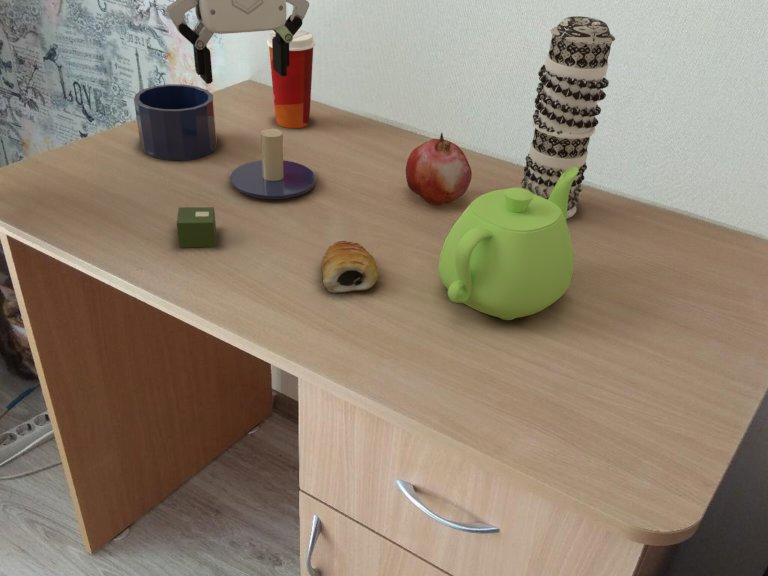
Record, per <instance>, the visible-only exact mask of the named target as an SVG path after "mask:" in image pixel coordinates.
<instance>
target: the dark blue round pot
mask: <svg viewBox="0 0 768 576" xmlns="http://www.w3.org/2000/svg"><path fill="white" fill-rule="evenodd" d="M214 102H215V101H214V95H213V93H211V92H210V91H209V90H208V89H206V88H203V87H200V86H197V85H196V86H195V85H190V84H182V83H180V84H179V83H176V84H174V83H173V84H171V83H167V84H159V85H153V86H150V87H147V88H143V89H141V90H140V91H138V92H136V93H135V95H134V98H133V103H134V111H135V116H136V123H137V130H138V131H137V132H138V137H139V145H140V146H141V150H142V151H143V152H144V154H146V155H147V156H150V157H152V158H155V159H160V160H164V161H175V162H176V161H190V160H196V159H200V158H203V157H206V156H208V155H210V154H211V153H213V152H214V151H216V149H217V146H218V144H217V143H218V141H217V139H218V137H217V127H216V126H217V125H216V116H215V115H216V113H215V103H214Z"/></svg>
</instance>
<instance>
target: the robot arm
mask: <svg viewBox="0 0 768 576" xmlns="http://www.w3.org/2000/svg"><path fill="white" fill-rule="evenodd" d="M287 3H288V4H289V5H291V6H292V7H293V8H292V12H291V14H290V15H289V16H288V17H287ZM309 7H310V2H309V1H308V0H175V1H174V2H172V3H171V4H169V5H168V6H166V8H165V12H166V14H167V15H168V17H169V19H170V20H171V23H172V24H173V25H174V27H175V28H176V31H177V32H178V33H179V34H180V35H181V36H182V37H183V38H185V40H187V41H188V42H189V43H190V44H191V45H192V48H193V59H194V67H195V68H194V70H195V73H196V74H197V76H199V77H200V79H202V80H203V82H204V83H205V84H208V85H209V84H212V83H213V81H214V79H213V69H212V55H211V50H210V48H208V47H207V46H208V43H209V42H210V40H211V39H212V37H213V36H214V34H220V35H221V34H223V35H224V34H225V35H226V34H241V33H253V32H255V33H256V32H266V31H274V32H275V33H276V34H275V37H273V39H272V49H273V69H274V70H275V71H276V72H277V73H278V74H280V75H281V76H287V67H289V65H290V55H289V43H290V42H291V41H292V40H293V36H294V35H295V33H296V32H297V31H298V30H300V29H301V27H302V26H303V20H304V19H305V17H306V15H307V12H308V10H309ZM192 9H194V11H195V15H196V19H197V23H196V24H195V26H193V28H191V27H190V26H189V25H188V23H187V22H186V19H185V18H184V15H185V14H186V13H187V12H189V11H191V10H192Z"/></svg>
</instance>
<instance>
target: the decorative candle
mask: <svg viewBox="0 0 768 576" xmlns="http://www.w3.org/2000/svg"><path fill="white" fill-rule="evenodd" d="M550 34H551V36H552V37H551V40H550V45H549V51H548V54H546V59H545V64H543V65H542V66H541V67H540V69H539V71H538V73H537V76H538V79H539V81H540V82H539V83H538V84H537V87H536V93H537V95H536V97H535V98H534V104H535V105H534V106H535V108H536V109H535V110H534V113H533V115H532V126H533V128H534V130H533V131H534V132H533V138H532V141H531V142H530V146H529V150H528V151H529V152H528V154H527V155H526V156H525V158H524V159H525V164H526V165H525V166H524V167H523V172H524V173H523V174H524V176H523V177H521V180H520V184H521V187H520V188H523V189H526V190H529V191H530V192H532V193H533V194H535V195H538V196H540V197H543V198H545V199H547V200H548V198H549V197H550V195H551V193H552V191H553V189H554V187H555V185H556V183H557V181H558V180H559V178H560V176H561V175H562V174H563V173H564V172H565V171H566V170H567V169H569V168H571V167H577V168H578V169H579V171H578V174H577V176H576V177H575V179H574V181H573V183H572V185H571V188H570V192H569V197H568V207H567V219H569V218H572V217H573V216H574V215H575V214H576V212H577V206H578V203H579V202H580V198H579V196H580V193H581V192H582V191H583V188H582V184H583V181H584V180H585V176H584V173H585V172H586V170H587V168H588V166H587V159H588V154H589V152H588V146H589V143H590V137H592V136H593V134H595V133H596V127H597V125H598V124H599V120H598V119H597V118H596V116H599V115H600V114H601V112H602V108H601V107H600V106H599V104H598V102H600V101H603V100H605V98H606V96H607V94H606V93H605V91H604V90H603V89H606V88H607V87H609V84H610V82H609V80H608V79H607V78H606V76H607V71H608V69H609V61H608V60H609V56H610V52H611V48H612V44H613V42H614V41H616V37H615V36H614V35H613V34H611V31H610V28H609V26H608V23H606V22H604V21H603V20H600V19H598V18H594V17H590V16H589V17H588V16H582V15H581V16H577V15H576V16H567V17H565V18H563V19H562V20H561V21H559V23H558V25H557V26H554V27H553V28H551V29H550Z"/></svg>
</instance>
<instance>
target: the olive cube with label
mask: <svg viewBox="0 0 768 576" xmlns="http://www.w3.org/2000/svg"><path fill="white" fill-rule="evenodd" d="M215 213H216V212H215V206H197V207H196V206H193V207H189V206H188V207H181V206H180V207H178V209H177V216H176V229H177V238H178V239H177V240H178V245H179V248H215V247H216V242H217V241H216V239H217V225H216V224H217V223H216V214H215Z"/></svg>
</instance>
